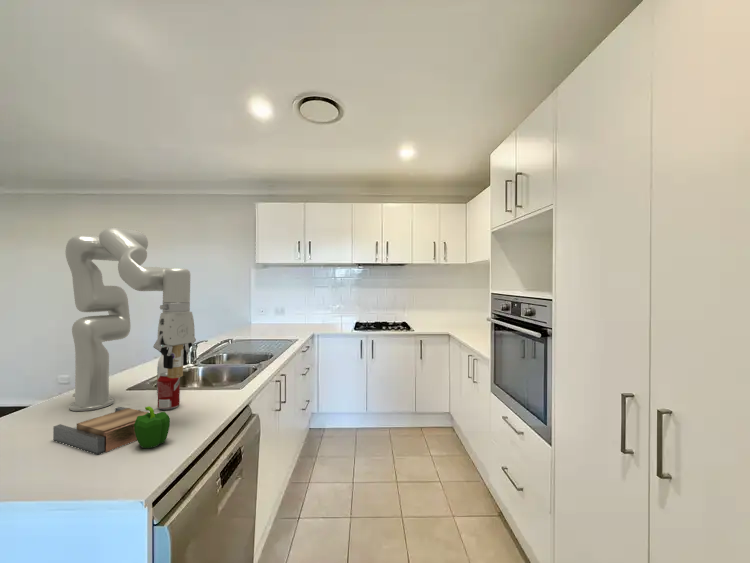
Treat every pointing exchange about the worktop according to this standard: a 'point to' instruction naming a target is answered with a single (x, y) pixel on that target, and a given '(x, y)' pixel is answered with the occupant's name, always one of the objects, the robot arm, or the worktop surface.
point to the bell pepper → (151, 428)
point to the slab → (110, 421)
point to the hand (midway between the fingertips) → (175, 365)
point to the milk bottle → (160, 368)
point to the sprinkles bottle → (176, 362)
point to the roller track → (95, 437)
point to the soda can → (168, 392)
